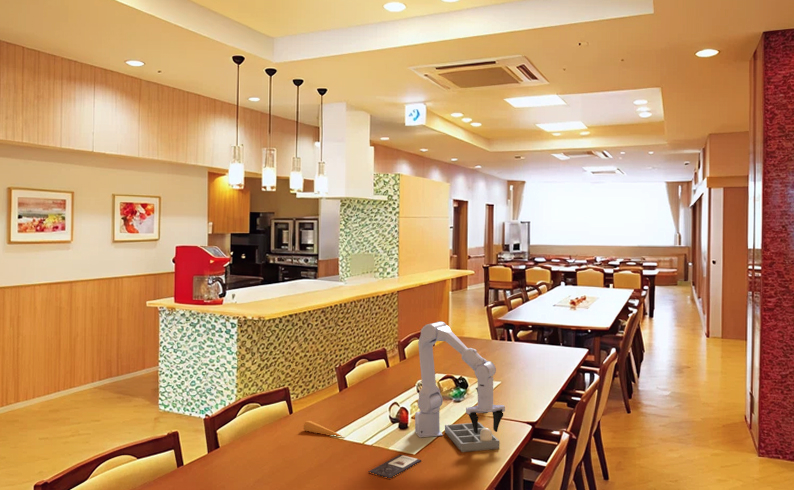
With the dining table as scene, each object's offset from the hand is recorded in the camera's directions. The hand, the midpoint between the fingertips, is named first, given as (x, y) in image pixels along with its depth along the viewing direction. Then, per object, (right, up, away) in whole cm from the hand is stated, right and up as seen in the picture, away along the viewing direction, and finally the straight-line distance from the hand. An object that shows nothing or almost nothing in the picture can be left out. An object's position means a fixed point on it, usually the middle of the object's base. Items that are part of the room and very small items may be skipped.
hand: (485, 431), depth 216 cm
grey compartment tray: (-5, -5, +6) cm, 9 cm away
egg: (0, -5, 0) cm, 5 cm away
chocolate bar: (-33, -7, -18) cm, 39 cm away
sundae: (+5, -5, +42) cm, 42 cm away
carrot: (-61, -6, +15) cm, 63 cm away
